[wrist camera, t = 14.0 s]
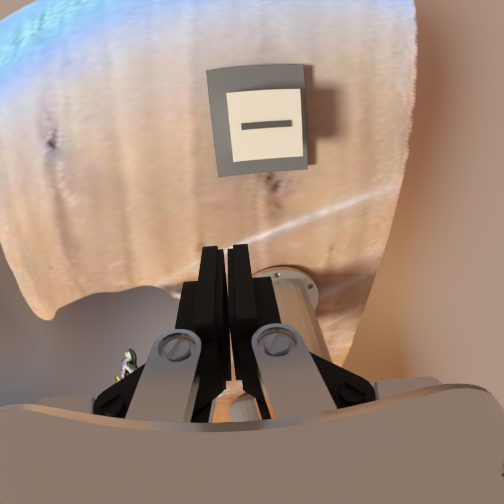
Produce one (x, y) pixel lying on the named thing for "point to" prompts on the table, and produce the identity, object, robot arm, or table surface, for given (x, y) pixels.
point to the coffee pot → (244, 409)
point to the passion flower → (127, 364)
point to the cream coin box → (265, 124)
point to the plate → (251, 81)
